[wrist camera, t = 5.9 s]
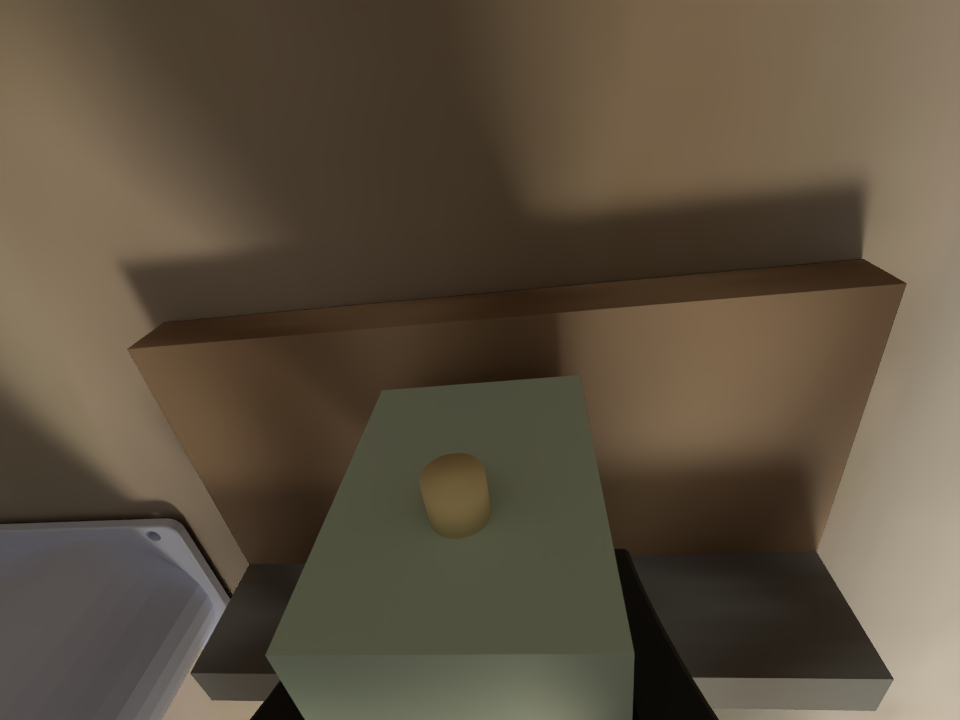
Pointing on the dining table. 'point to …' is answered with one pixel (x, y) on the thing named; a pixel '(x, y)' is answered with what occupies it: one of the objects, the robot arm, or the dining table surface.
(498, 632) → the mini cabinet
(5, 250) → the dining table surface
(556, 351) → the cleat wall
